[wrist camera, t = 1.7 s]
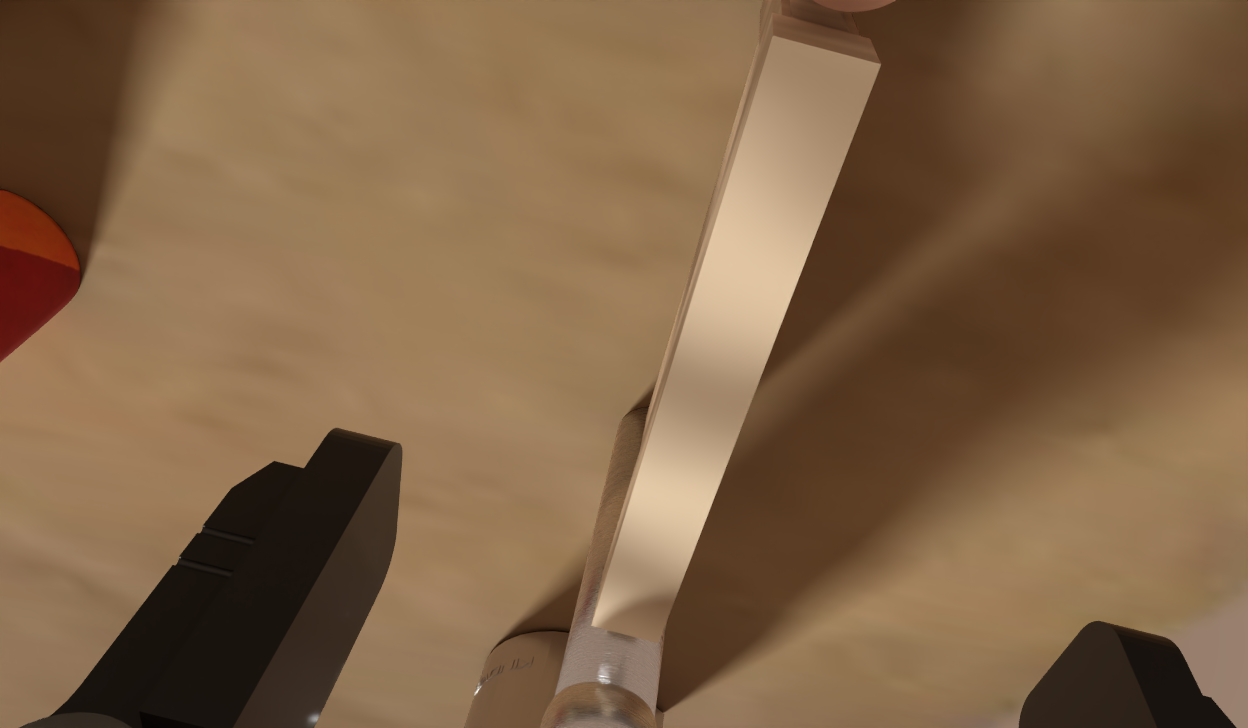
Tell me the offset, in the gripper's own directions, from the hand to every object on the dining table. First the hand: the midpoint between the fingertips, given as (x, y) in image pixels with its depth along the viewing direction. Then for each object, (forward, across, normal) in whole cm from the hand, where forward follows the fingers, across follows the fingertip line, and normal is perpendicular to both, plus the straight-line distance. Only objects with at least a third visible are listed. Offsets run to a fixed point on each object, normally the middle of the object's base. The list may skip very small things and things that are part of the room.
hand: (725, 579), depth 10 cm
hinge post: (+21, 0, +15) cm, 26 cm away
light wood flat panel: (+20, 0, +4) cm, 20 cm away
